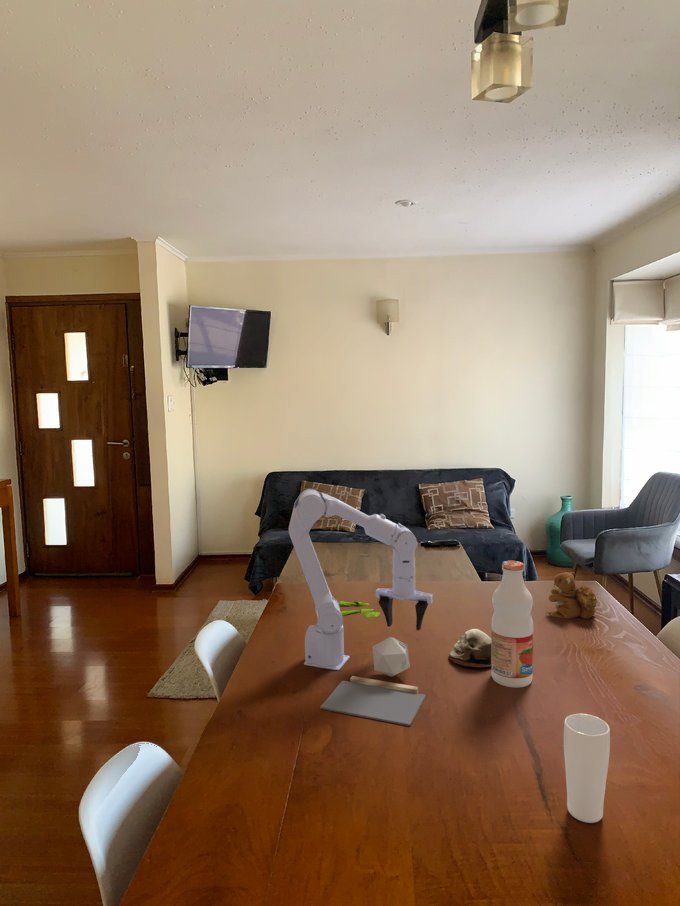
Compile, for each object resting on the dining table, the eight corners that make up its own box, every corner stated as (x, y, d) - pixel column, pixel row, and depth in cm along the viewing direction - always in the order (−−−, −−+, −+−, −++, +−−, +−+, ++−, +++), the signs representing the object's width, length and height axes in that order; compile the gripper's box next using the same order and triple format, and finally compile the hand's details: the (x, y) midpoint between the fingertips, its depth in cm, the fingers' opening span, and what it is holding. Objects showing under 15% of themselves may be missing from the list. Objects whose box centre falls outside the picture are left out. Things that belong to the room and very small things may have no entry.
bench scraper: (320, 708, 131) (320, 707, 131) (342, 682, 143) (342, 680, 143) (410, 726, 123) (410, 724, 123) (425, 696, 135) (425, 694, 135)
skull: (444, 663, 148) (446, 624, 155) (451, 680, 155) (453, 641, 162) (494, 665, 144) (494, 625, 151) (499, 682, 151) (499, 642, 158)
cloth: (386, 623, 181) (386, 615, 180) (312, 624, 181) (312, 616, 181) (382, 600, 201) (382, 593, 201) (316, 601, 201) (316, 594, 201)
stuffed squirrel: (554, 606, 190) (555, 565, 189) (602, 616, 182) (603, 573, 180) (544, 616, 182) (545, 573, 181) (593, 626, 174) (594, 581, 172)
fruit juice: (492, 668, 148) (493, 556, 146) (532, 672, 146) (534, 559, 143) (489, 685, 140) (490, 567, 137) (532, 691, 137) (534, 570, 134)
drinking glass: (555, 800, 100) (556, 714, 99) (594, 797, 101) (596, 711, 99) (574, 829, 93) (576, 737, 92) (616, 826, 94) (619, 734, 92)
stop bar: (350, 683, 142) (350, 678, 142) (352, 680, 143) (352, 675, 143) (416, 694, 136) (416, 689, 136) (418, 692, 137) (418, 686, 137)
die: (408, 686, 140) (408, 645, 139) (369, 683, 142) (369, 642, 141) (411, 670, 148) (411, 630, 147) (375, 667, 150) (374, 628, 149)
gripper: (371, 577, 152) (372, 629, 154) (428, 582, 147) (428, 636, 148) (380, 569, 159) (380, 619, 160) (434, 574, 153) (434, 626, 155)
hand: (404, 627), depth 155 cm, fingers open, 7 cm apart
